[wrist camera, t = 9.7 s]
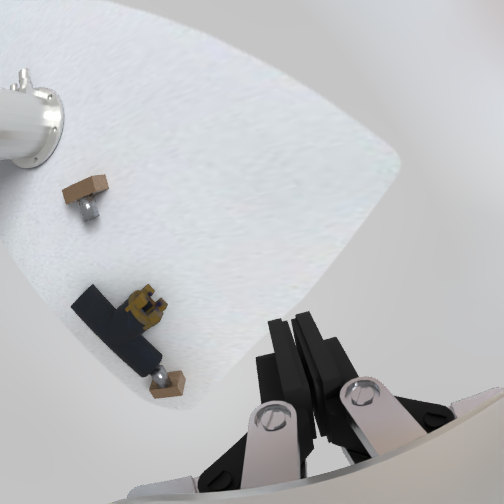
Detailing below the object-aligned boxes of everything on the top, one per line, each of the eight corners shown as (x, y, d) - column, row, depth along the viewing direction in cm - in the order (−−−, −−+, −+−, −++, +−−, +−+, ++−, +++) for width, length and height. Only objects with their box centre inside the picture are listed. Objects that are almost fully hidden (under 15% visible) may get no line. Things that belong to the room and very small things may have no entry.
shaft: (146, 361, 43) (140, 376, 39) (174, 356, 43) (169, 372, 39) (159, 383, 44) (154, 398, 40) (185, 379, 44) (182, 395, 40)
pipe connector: (108, 266, 33) (188, 349, 37) (123, 253, 38) (194, 328, 42) (65, 312, 35) (137, 382, 38) (81, 296, 40) (146, 361, 44)
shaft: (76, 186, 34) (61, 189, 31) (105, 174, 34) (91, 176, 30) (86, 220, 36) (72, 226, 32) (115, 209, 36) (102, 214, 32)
